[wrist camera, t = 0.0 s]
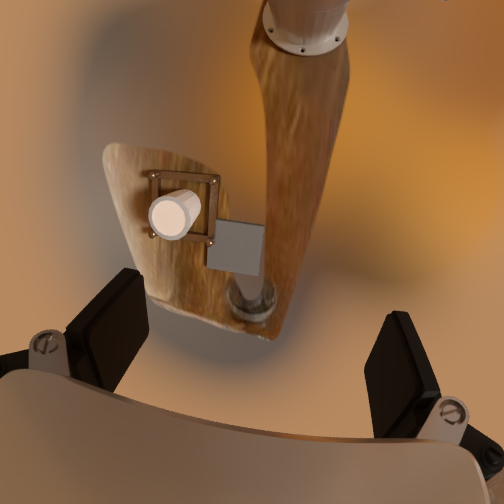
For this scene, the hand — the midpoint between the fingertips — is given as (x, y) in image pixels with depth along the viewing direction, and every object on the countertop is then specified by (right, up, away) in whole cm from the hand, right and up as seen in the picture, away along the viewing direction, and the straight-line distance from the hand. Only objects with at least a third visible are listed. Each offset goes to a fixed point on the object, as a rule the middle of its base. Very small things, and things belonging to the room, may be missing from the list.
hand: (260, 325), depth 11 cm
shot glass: (-11, +10, +38) cm, 41 cm away
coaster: (-3, +4, +40) cm, 40 cm away
